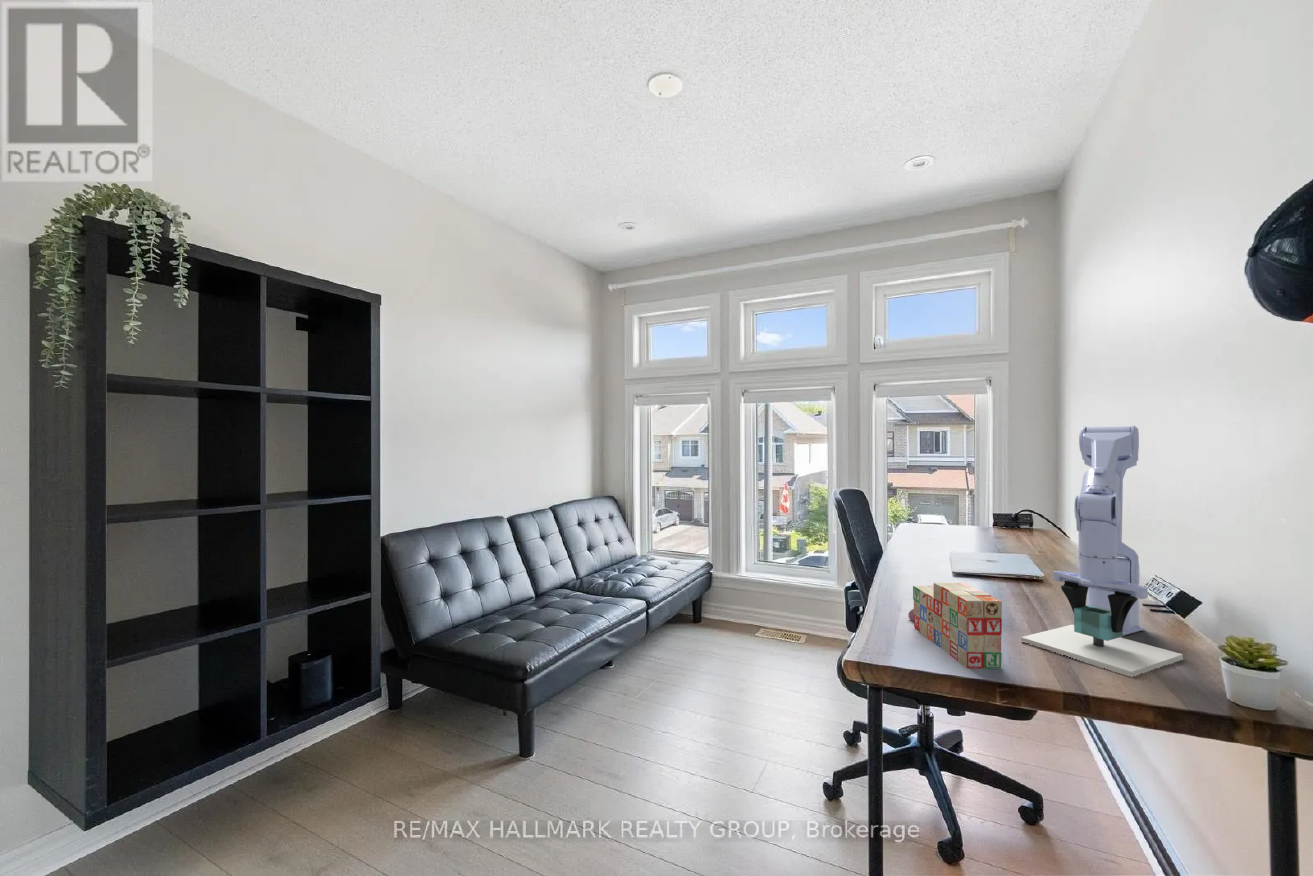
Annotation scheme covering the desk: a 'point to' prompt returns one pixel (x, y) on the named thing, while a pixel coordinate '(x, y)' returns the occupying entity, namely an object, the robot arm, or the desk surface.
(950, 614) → the stack of blocks
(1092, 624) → the teal hollow square tube
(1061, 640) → the white square slab
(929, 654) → the desk surface
